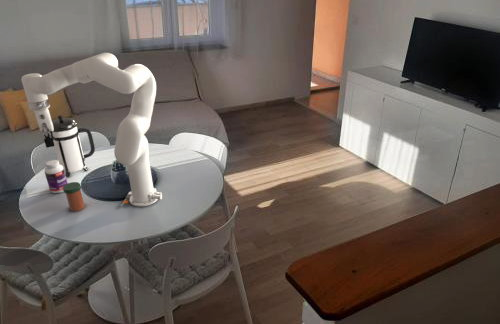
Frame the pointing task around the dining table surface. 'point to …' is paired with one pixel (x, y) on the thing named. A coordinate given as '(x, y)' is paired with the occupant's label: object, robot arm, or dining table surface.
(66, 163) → the coffee press
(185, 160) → the dining table surface
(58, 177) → the pill bottle
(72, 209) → the jar
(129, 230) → the dining table surface
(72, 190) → the lid
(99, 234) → the dining table surface
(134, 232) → the dining table surface
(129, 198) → the key chain
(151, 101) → the robot arm
